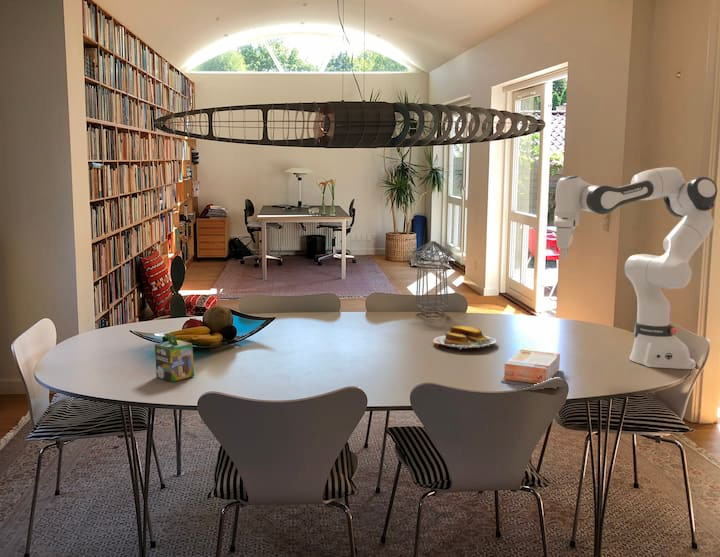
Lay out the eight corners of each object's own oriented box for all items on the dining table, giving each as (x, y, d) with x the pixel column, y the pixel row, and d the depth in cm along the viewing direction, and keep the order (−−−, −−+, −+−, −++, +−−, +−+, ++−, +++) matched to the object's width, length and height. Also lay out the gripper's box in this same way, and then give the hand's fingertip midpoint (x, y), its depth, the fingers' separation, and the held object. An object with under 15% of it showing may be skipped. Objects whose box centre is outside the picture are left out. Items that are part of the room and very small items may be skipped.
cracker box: (520, 365, 259) (503, 379, 241) (520, 348, 258) (503, 362, 240) (559, 370, 253) (545, 385, 234) (560, 353, 252) (546, 367, 233)
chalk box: (194, 377, 242) (193, 333, 240) (171, 383, 235) (169, 338, 233) (178, 371, 248) (177, 329, 246) (155, 377, 242) (153, 334, 239)
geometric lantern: (422, 318, 333) (422, 243, 328) (410, 312, 348) (410, 240, 343) (454, 316, 337) (454, 241, 332) (441, 310, 352) (442, 239, 347)
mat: (563, 372, 252) (563, 371, 251) (557, 389, 233) (557, 387, 233) (511, 366, 258) (511, 365, 258) (501, 382, 240) (501, 381, 239)
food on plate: (431, 352, 277) (432, 336, 276) (433, 337, 301) (433, 321, 300) (499, 355, 274) (499, 338, 273) (495, 339, 298) (495, 323, 297)
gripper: (560, 218, 275) (558, 254, 278) (554, 222, 257) (552, 260, 259) (577, 218, 273) (575, 255, 275) (572, 223, 254) (570, 262, 257)
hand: (564, 258), depth 267 cm, fingers closed
